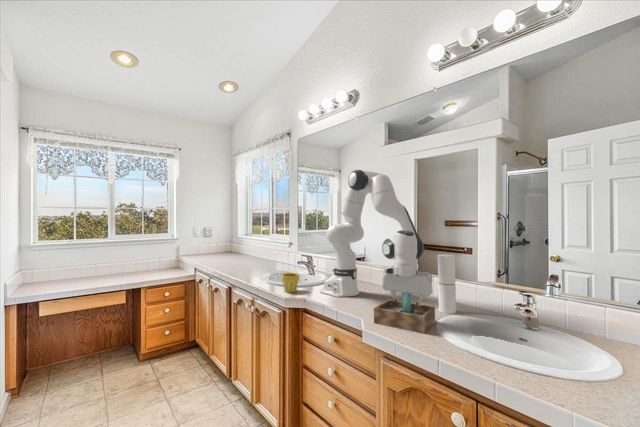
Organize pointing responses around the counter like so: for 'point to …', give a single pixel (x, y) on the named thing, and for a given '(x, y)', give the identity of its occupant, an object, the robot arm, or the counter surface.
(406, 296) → the peg
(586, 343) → the counter surface
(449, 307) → the cylindrical container
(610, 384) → the counter surface
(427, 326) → the box
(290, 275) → the plant pot
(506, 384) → the counter surface
